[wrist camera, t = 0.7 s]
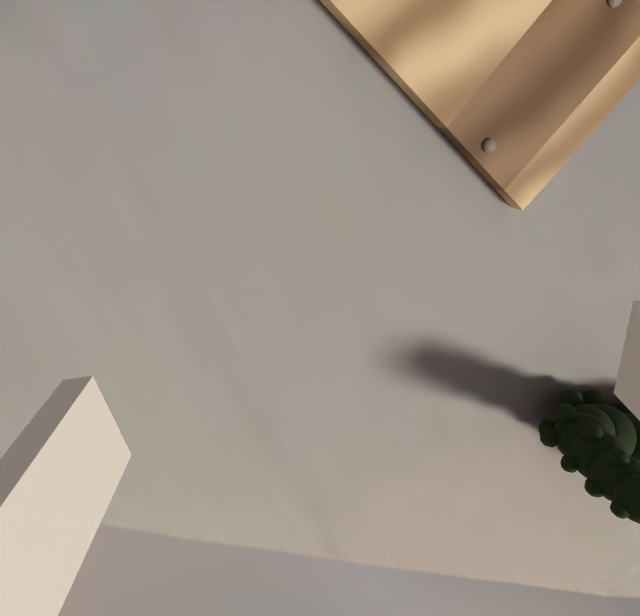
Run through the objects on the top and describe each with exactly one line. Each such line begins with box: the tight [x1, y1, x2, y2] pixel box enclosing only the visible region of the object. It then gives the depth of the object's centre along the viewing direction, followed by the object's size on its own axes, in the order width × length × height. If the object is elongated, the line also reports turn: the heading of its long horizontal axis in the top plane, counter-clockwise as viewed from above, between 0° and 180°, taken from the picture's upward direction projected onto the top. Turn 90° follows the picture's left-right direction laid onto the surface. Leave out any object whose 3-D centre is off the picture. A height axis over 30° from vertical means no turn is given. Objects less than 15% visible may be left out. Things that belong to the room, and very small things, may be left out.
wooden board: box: [320, 0, 640, 210], centre depth 30 cm, size 22×15×2 cm
